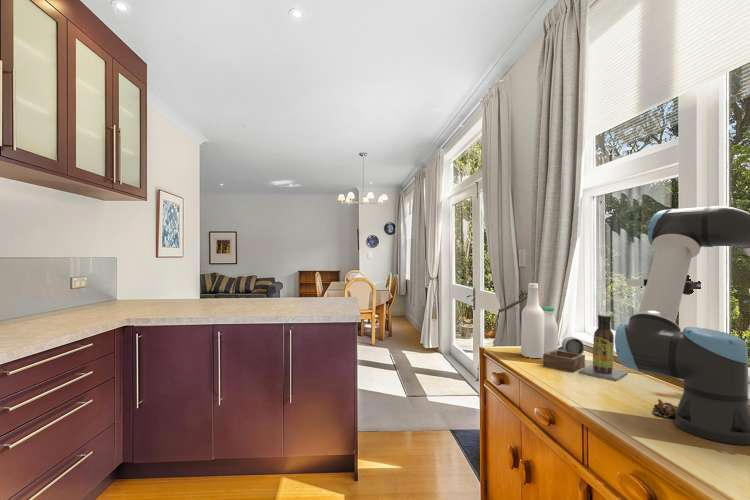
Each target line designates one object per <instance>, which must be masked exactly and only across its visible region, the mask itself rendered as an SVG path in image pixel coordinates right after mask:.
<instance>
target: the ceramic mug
mask: <svg viewBox="0 0 750 500" xmlns="http://www.w3.org/2000/svg"><path fill="white" fill-rule="evenodd" d="M558 350H559V351H565V352H570V353H576V354H582V355H584V351H585V344H584V342H583V341H582V340H581V339H579V338H577V337H574V336H567V337H565V338H563V340H562V342H561V346H558Z"/></svg>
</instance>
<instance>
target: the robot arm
mask: <svg viewBox="0 0 750 500" xmlns="http://www.w3.org/2000/svg"><path fill="white" fill-rule="evenodd" d="M647 240H648V242H649V244H650V245H651V247H652V248H653V250H654V251H655V254H654V257H653V261H652V264H651V267H650V272H649V274H648V278H626V287H640V288H641V289H643V288H644V287H645V289H644V292H643V295H642V298H641V302H640V305H639V309H638V312H637V313H634V314H632V315H630V317H629V321H628V323H627V324H626V323H621V324H619V325H618V326H617V327H616V330H615V335H614V347H615V352H616V357H617V359H618V361H619V363H620V364H621V365H622V366H623V367H624V368H627V369H632V370H636V371H638V372H641V373H642V372H643V373H648V374H651V375H653V374H654V375H658V376H664V377H669V378H673V379H679V380H681V381H683V392H682V395H681V396H680V397H681V398H680V399H679V401H678V404H677V405H676V406H677V409H676V411H675V417H674V424H675V425H676V426H677V427H678V428H679V429H681V430H683V431H685V432H687V433H689V434H691V435H694V436H698V437H700V438H704V439H707V440H711V441H715V442H719V443H725V444H730V445H742V446H743V445H744V446H747V445H748V446H749V445H750V406H749V363H750V359H749V356H748V355H749V353H748V352H749V351H748V345H747V343H746V341H744V340H743V339H742V338H740V336H739V337H738V336H736V335H734V334H731V333H727V332H723V331H720V330H715V329H709V328H705V327H704V328H702V327H699V326H698V327H696V326H685V327H684V329H681V327H680V326H679V324H677V323H676V322H677V317H678V313H679V310H680V304H681V301H682V297H683V295H687V296H689V295H690V294H692V293H693V292H694V291H693V289H701V282H700V281H698V282H693V281H691V279H689V277H690V276H689V275H687V274H689V268H690V265H691V262H692V261H691V260H692V259H693V258H694V257H697V256H698V255H699V254H700V252H701V249H702V248H703V247H704V248H705V247H713V246H732V247H735V248H738V249H739V250H740V251H741V252H742V253H744V254H745V255H747V256H750V212H748V211H745V210H742V209H739V208H735V207H731V206H724V205H723V206H722V205H715V206H714V205H712V206H701V207H685V208H670V209H663V210H659V211H657V212H656V213H654V214H653V216H652V217H651V218H650V221H649V224H648V231H647ZM690 296H691V295H690ZM681 330H682V331H681Z"/></svg>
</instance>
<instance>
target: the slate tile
mask: <svg viewBox="0 0 750 500" xmlns="http://www.w3.org/2000/svg"><path fill="white" fill-rule="evenodd" d="M612 370H613V371H612V373H601V372H598V371H595V370H594V369H593V364H592V365H591V364H590V365H588V366H585V367H584V368H582V369H580V370H578V374H580V375H586V376H590V377H595V378H599V379H604V380H609V381H614V382H618V381H620V380H621V379H623V378H625V377H626V376H627V375H628V374H629V373H628V372H627V371H624V370H618V369H615V368H612Z"/></svg>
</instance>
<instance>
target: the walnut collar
mask: <svg viewBox="0 0 750 500" xmlns="http://www.w3.org/2000/svg"><path fill="white" fill-rule="evenodd" d="M585 357H586V355H585V354H576V353H570V352H565V351H559V350H554V351H551V352H548V353H545V354H543V358H542V361H543V362H542V365H543V367H546V368H551V369H555V370H560V371H565V372H569V373H575V372H577V371H579V370H582V369H584V368H586V366H585V365H586V364H585V362H586V359H585Z"/></svg>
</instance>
